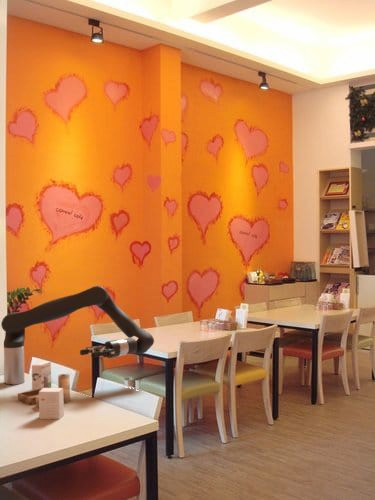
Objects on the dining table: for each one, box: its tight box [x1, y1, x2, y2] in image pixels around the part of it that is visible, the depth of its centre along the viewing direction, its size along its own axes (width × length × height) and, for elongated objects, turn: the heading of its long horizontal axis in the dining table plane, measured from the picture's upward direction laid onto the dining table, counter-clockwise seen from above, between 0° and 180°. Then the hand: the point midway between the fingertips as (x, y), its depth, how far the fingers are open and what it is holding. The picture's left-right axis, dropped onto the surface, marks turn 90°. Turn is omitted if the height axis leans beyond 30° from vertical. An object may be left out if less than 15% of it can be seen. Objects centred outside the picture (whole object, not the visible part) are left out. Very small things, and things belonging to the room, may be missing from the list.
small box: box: [38, 387, 65, 420], centre depth 215 cm, size 8×6×10 cm
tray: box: [17, 389, 42, 406], centre depth 239 cm, size 11×11×2 cm
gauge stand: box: [35, 376, 48, 408], centre depth 229 cm, size 6×6×12 cm
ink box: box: [31, 361, 52, 391], centre depth 256 cm, size 9×5×12 cm, turn 160°
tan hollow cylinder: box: [57, 373, 71, 404], centre depth 236 cm, size 5×5×11 cm
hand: (86, 354), depth 244 cm, fingers open, 8 cm apart
